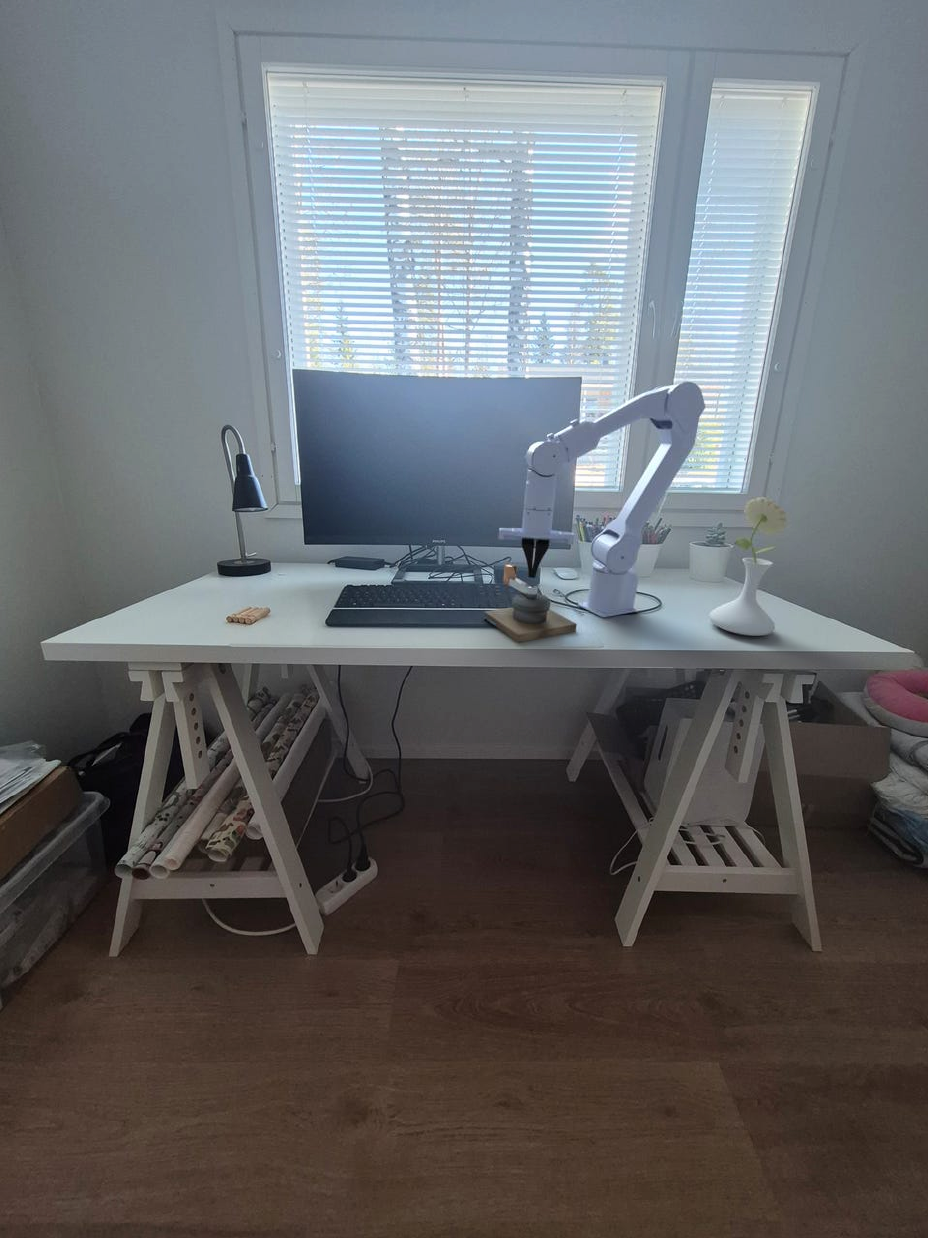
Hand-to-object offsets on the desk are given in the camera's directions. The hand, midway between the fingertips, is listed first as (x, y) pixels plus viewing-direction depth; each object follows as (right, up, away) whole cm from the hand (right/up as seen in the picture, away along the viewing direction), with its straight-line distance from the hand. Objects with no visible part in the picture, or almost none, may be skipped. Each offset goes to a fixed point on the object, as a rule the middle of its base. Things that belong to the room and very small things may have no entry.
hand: (531, 576), depth 95 cm
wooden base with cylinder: (-1, -10, -5) cm, 11 cm away
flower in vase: (+40, -11, -2) cm, 42 cm away
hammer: (-3, -3, -4) cm, 6 cm away
